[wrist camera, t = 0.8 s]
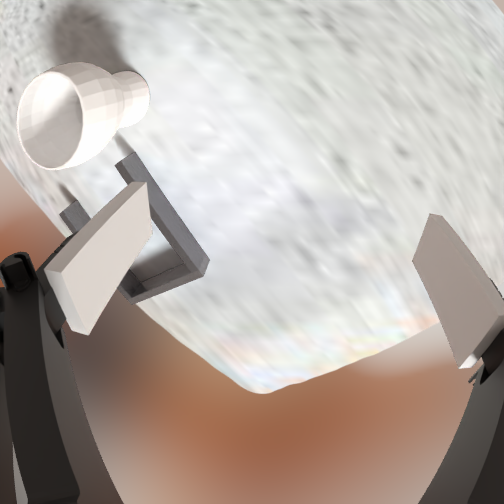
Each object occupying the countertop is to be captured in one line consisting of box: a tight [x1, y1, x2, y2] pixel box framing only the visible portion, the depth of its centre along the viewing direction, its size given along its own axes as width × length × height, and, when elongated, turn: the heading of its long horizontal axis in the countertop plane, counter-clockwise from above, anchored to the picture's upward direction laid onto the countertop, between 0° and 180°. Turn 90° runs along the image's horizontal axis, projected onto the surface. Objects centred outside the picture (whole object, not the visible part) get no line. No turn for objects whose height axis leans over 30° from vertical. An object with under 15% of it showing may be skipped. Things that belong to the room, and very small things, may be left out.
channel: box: [59, 152, 210, 305], centre depth 41 cm, size 19×15×4 cm
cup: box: [16, 62, 150, 170], centre depth 25 cm, size 11×11×15 cm
